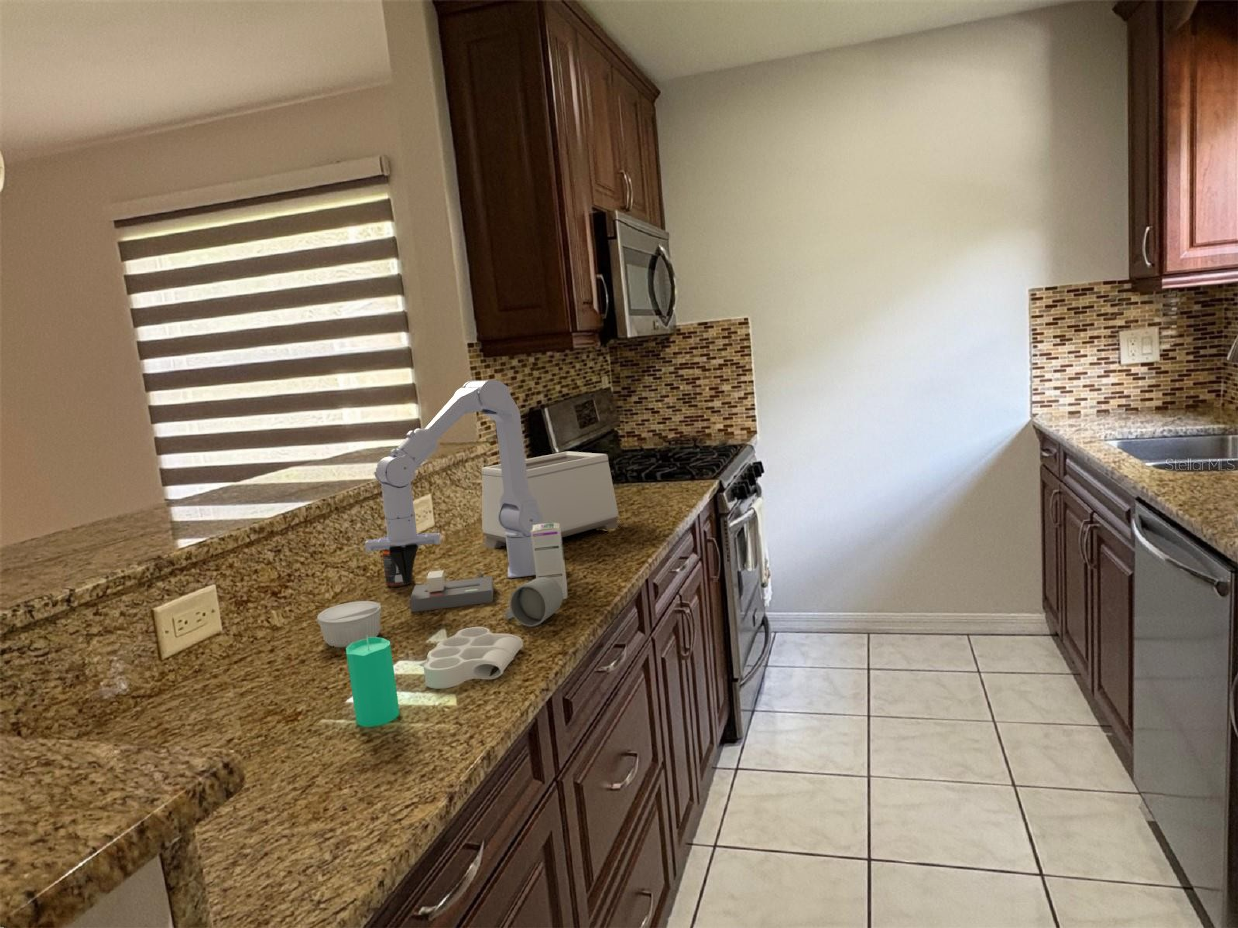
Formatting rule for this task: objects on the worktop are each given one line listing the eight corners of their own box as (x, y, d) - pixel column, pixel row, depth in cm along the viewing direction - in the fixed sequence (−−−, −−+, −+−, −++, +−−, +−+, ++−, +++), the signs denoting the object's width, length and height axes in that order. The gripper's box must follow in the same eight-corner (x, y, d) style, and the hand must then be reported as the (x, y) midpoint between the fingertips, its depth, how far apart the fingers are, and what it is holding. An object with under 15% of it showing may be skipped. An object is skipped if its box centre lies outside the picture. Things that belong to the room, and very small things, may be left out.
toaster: (629, 527, 213) (623, 451, 210) (525, 557, 191) (516, 473, 188) (584, 519, 228) (578, 448, 225) (482, 546, 205) (473, 468, 202)
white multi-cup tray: (495, 690, 117) (403, 691, 120) (529, 644, 135) (448, 645, 137) (493, 669, 117) (400, 670, 119) (527, 625, 134) (446, 627, 137)
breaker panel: (494, 576, 176) (493, 564, 176) (492, 602, 158) (491, 589, 158) (421, 584, 174) (419, 573, 174) (410, 612, 156) (409, 599, 156)
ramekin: (358, 652, 137) (354, 623, 136) (306, 648, 141) (302, 620, 140) (397, 628, 147) (393, 601, 147) (348, 626, 151) (344, 599, 151)
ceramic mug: (567, 612, 148) (563, 572, 147) (549, 627, 141) (543, 586, 140) (517, 610, 152) (512, 572, 151) (496, 626, 144) (491, 585, 143)
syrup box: (567, 599, 156) (560, 527, 154) (537, 602, 155) (530, 530, 153) (567, 590, 161) (560, 521, 159) (538, 593, 161) (531, 523, 159)
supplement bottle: (406, 587, 173) (399, 537, 172) (381, 588, 175) (374, 538, 173) (418, 579, 179) (412, 530, 178) (394, 579, 181) (387, 531, 179)
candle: (361, 709, 114) (349, 629, 112) (403, 704, 114) (392, 625, 112) (350, 729, 108) (338, 645, 106) (395, 723, 108) (384, 640, 106)
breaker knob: (445, 583, 164) (443, 570, 163) (443, 590, 159) (441, 576, 158) (430, 584, 163) (429, 571, 163) (428, 592, 158) (426, 578, 158)
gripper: (358, 524, 153) (367, 591, 155) (435, 516, 155) (442, 583, 157) (365, 517, 160) (373, 581, 162) (438, 509, 162) (445, 573, 164)
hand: (408, 581), depth 160 cm, fingers closed
